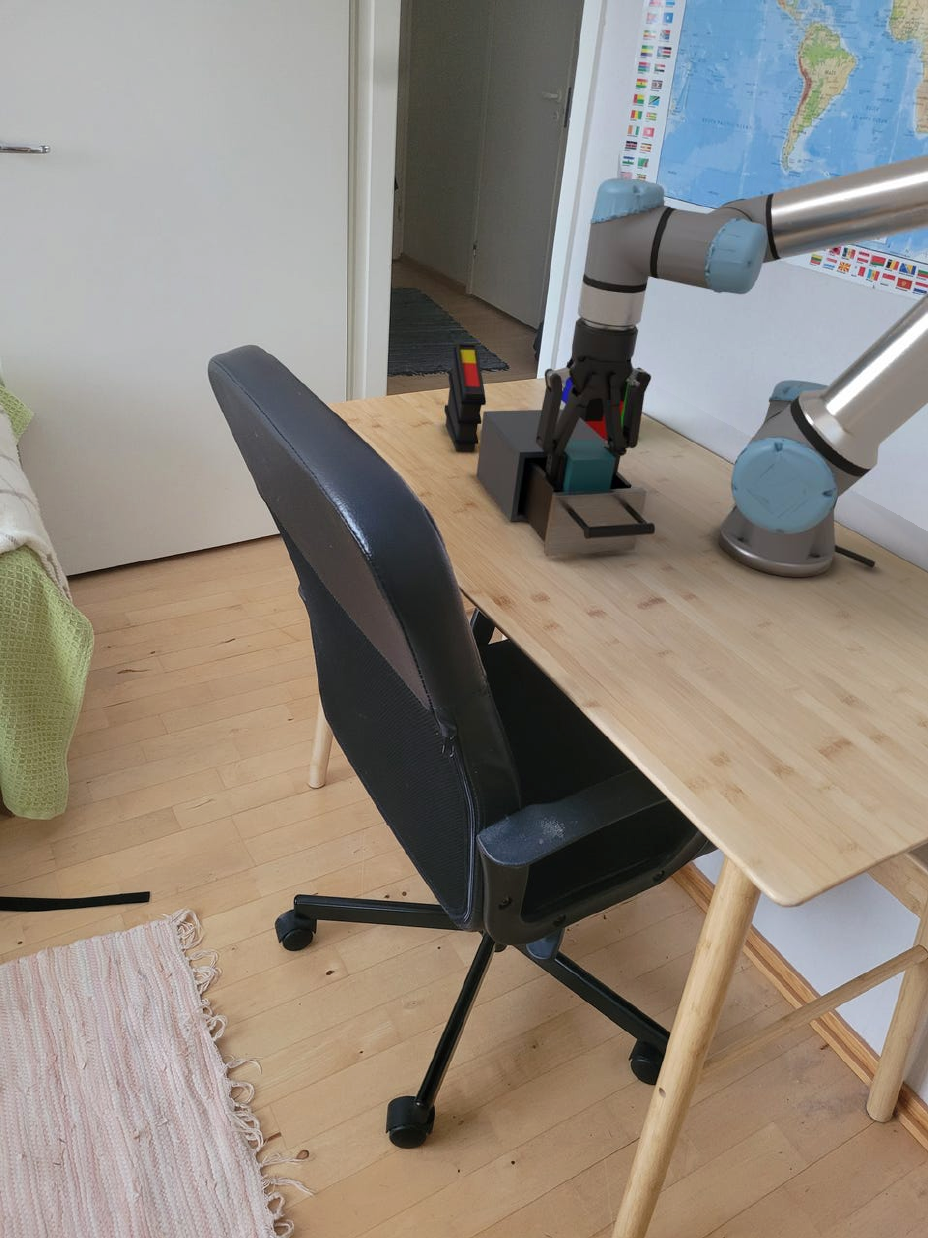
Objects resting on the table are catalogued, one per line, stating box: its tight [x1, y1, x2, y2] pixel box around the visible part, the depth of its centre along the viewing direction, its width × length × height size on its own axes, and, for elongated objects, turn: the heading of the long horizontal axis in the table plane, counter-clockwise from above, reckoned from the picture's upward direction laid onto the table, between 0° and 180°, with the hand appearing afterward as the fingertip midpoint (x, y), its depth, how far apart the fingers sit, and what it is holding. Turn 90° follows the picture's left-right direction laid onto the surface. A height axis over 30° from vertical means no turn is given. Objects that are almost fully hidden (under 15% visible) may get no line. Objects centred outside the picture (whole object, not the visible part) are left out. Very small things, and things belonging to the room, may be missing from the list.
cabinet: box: [476, 409, 609, 523], centre depth 136 cm, size 15×14×10 cm
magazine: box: [443, 342, 487, 453], centre depth 151 cm, size 4×13×15 cm, turn 10°
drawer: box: [518, 457, 656, 557], centre depth 124 cm, size 20×13×8 cm, turn 18°
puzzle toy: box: [560, 361, 629, 441], centre depth 162 cm, size 10×10×10 cm
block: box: [549, 440, 616, 492], centre depth 124 cm, size 6×6×7 cm
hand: (577, 497), depth 126 cm, fingers closed on block, 6 cm apart
